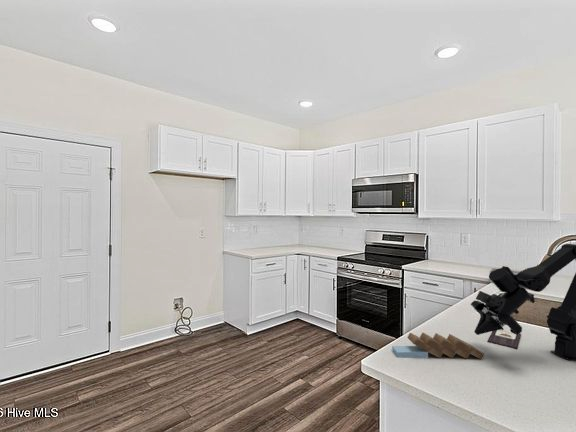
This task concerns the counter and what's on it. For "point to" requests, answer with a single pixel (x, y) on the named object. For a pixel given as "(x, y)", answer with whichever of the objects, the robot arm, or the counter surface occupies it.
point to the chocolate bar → (504, 338)
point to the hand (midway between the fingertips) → (475, 333)
